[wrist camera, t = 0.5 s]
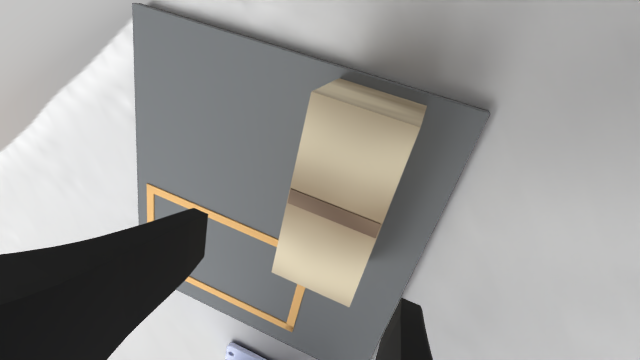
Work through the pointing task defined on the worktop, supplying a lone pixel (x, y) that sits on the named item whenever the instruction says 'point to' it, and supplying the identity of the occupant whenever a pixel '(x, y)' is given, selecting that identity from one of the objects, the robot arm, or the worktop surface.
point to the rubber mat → (274, 175)
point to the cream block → (343, 185)
